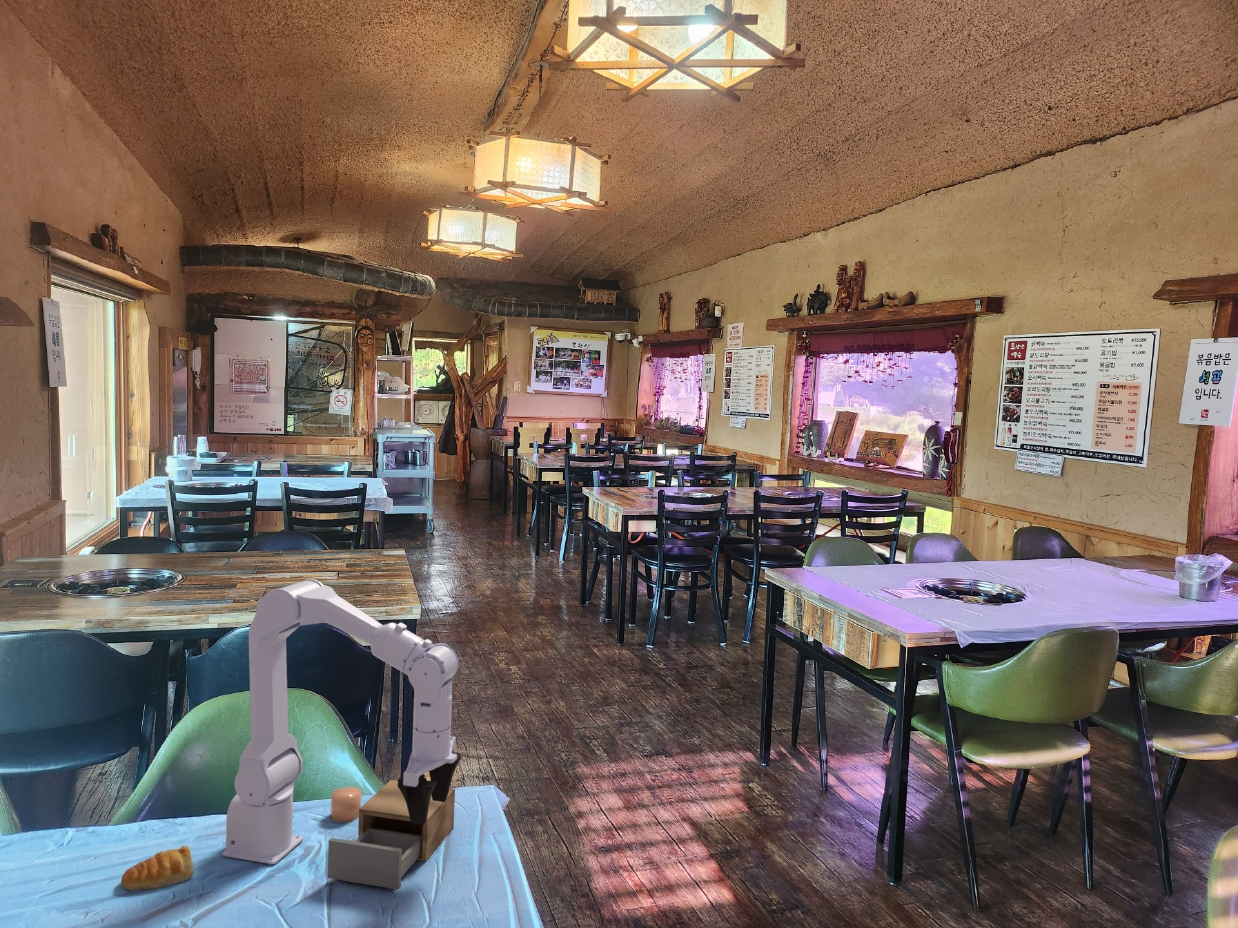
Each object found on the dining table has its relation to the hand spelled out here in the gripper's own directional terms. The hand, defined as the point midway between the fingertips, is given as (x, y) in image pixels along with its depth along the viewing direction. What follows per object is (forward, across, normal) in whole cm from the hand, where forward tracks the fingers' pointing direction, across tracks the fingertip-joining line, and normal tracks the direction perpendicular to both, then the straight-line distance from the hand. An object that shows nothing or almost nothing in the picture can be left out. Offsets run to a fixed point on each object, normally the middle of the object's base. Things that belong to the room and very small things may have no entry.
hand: (429, 811), depth 122 cm
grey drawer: (+9, -1, +8) cm, 12 cm away
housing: (+10, +9, +8) cm, 15 cm away
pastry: (+11, -11, +38) cm, 41 cm away
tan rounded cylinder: (+10, +13, +22) cm, 27 cm away
